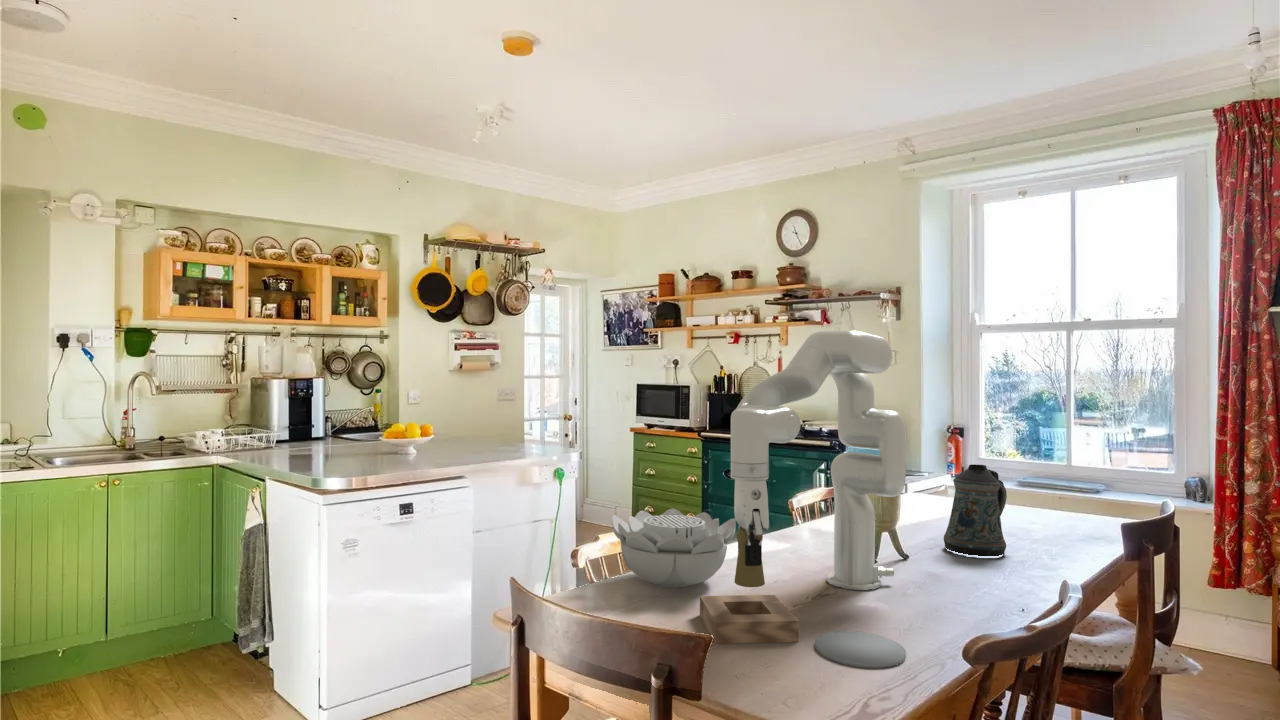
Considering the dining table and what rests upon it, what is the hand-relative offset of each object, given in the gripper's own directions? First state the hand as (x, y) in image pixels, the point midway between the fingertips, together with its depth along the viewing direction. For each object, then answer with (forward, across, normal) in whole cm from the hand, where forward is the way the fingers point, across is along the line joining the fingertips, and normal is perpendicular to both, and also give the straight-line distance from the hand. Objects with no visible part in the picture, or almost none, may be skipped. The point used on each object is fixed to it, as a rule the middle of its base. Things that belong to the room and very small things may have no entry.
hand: (749, 560), depth 148 cm
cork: (+5, 0, 0) cm, 5 cm away
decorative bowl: (+14, +31, +10) cm, 36 cm away
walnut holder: (+13, -1, +1) cm, 13 cm away
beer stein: (+16, +58, -82) cm, 102 cm away
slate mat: (+13, -14, -17) cm, 26 cm away
